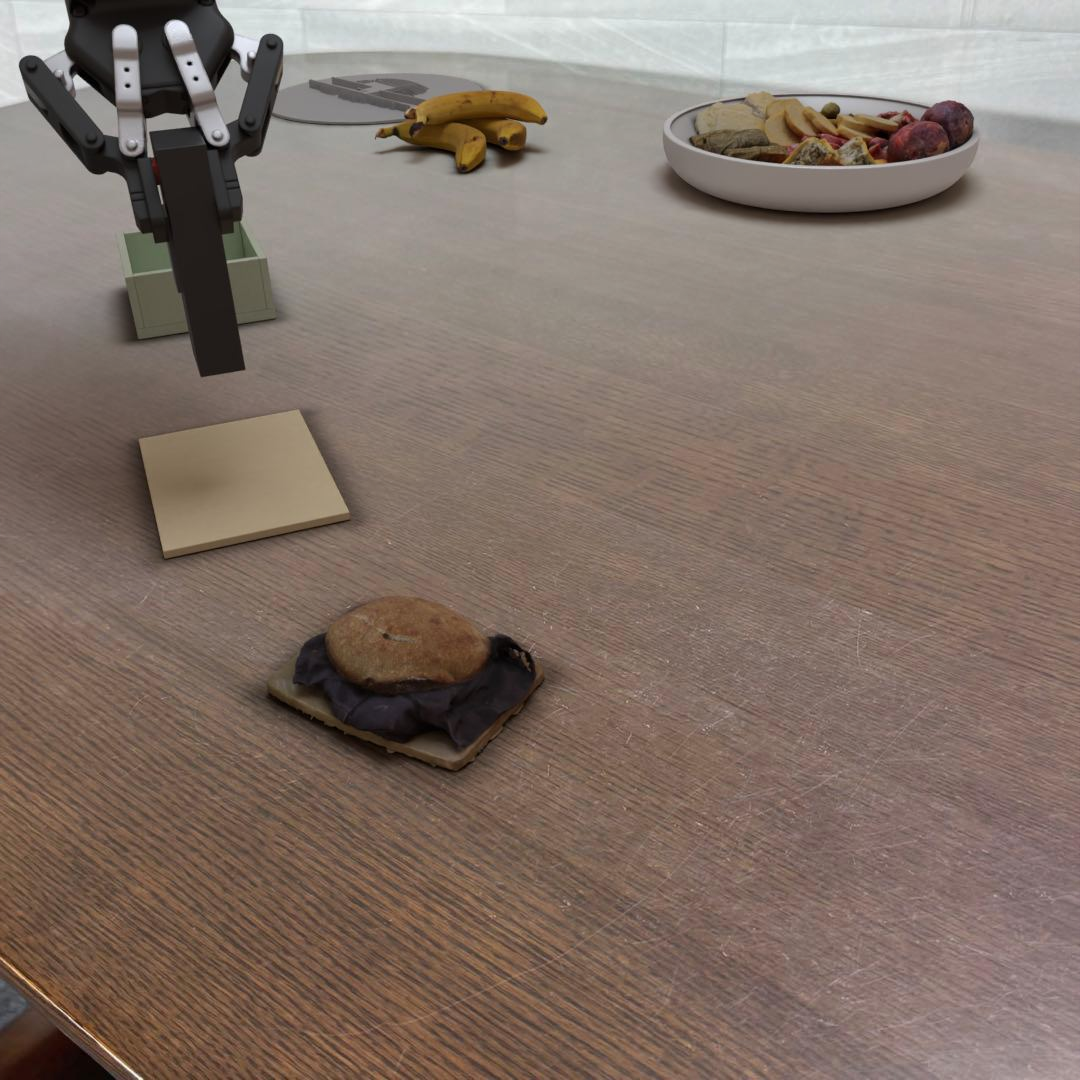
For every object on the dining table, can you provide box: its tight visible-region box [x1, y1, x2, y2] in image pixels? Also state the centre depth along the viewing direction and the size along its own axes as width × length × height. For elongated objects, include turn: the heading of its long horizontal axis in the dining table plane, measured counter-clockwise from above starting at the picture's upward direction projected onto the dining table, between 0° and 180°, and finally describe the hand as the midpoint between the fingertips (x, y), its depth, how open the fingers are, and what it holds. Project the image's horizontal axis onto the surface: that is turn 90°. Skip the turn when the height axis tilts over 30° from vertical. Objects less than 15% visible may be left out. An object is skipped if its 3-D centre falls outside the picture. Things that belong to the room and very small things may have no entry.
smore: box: [265, 595, 546, 772], centre depth 53 cm, size 11×8×4 cm
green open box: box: [115, 215, 277, 340], centre depth 93 cm, size 10×11×5 cm
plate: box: [272, 72, 484, 125], centre depth 155 cm, size 28×28×1 cm
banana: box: [374, 89, 548, 173], centre depth 129 cm, size 15×19×6 cm
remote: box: [148, 126, 246, 378], centre depth 63 cm, size 3×4×12 cm
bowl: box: [662, 90, 981, 214], centre depth 117 cm, size 30×30×8 cm
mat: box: [138, 409, 351, 560], centre depth 70 cm, size 14×10×1 cm
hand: (194, 229), depth 60 cm, fingers closed on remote, 2 cm apart
